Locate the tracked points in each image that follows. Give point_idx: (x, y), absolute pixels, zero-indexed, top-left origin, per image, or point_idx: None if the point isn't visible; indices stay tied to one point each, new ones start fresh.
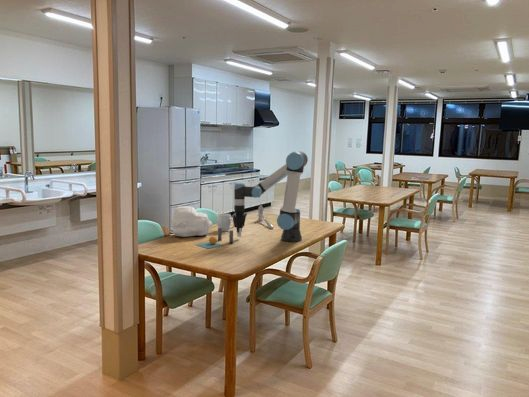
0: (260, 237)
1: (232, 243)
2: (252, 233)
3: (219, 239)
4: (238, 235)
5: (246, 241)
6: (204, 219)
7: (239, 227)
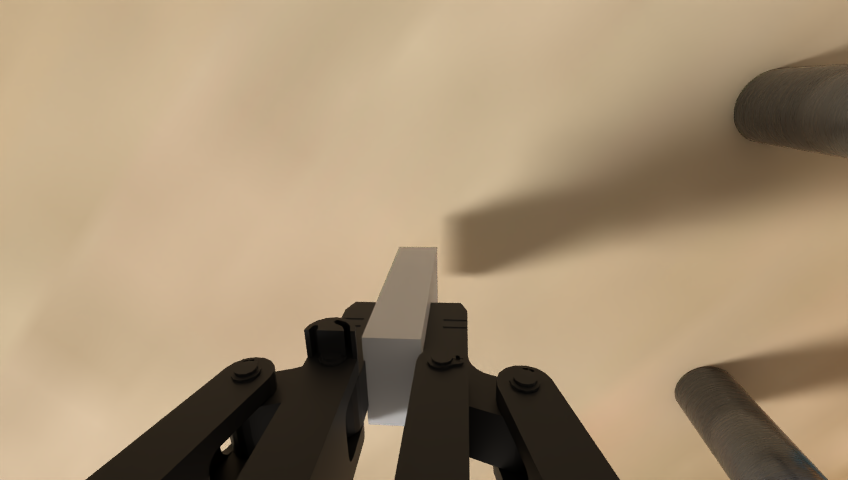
0: (55, 126)
1: (786, 69)
2: (50, 389)
3: (744, 390)
4: (435, 289)
5: (436, 49)
6: None
7: (423, 360)
